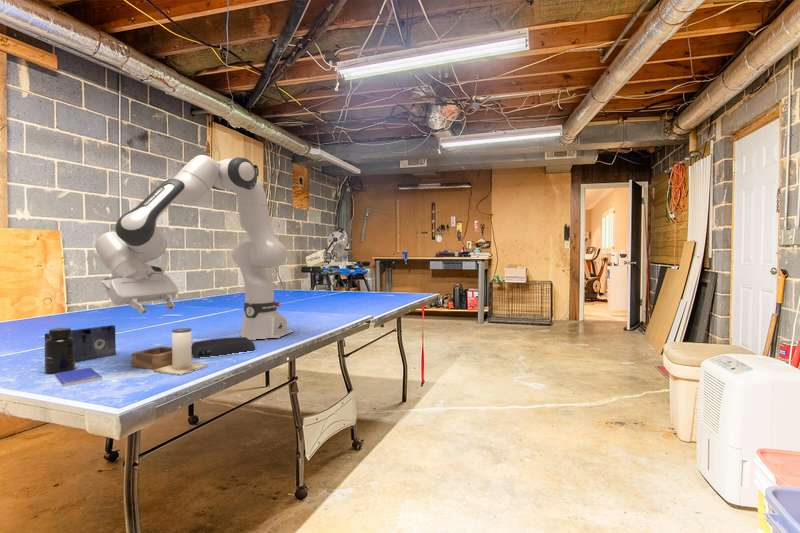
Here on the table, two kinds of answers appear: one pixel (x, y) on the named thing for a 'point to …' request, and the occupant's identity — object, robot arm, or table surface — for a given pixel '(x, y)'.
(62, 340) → the supplement bottle
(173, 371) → the pad
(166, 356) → the block
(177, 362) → the beige cylinder
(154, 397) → the table surface
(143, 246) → the robot arm
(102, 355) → the vhs cassette tape
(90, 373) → the blue book
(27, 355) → the table surface
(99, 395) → the table surface
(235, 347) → the external hard drive
